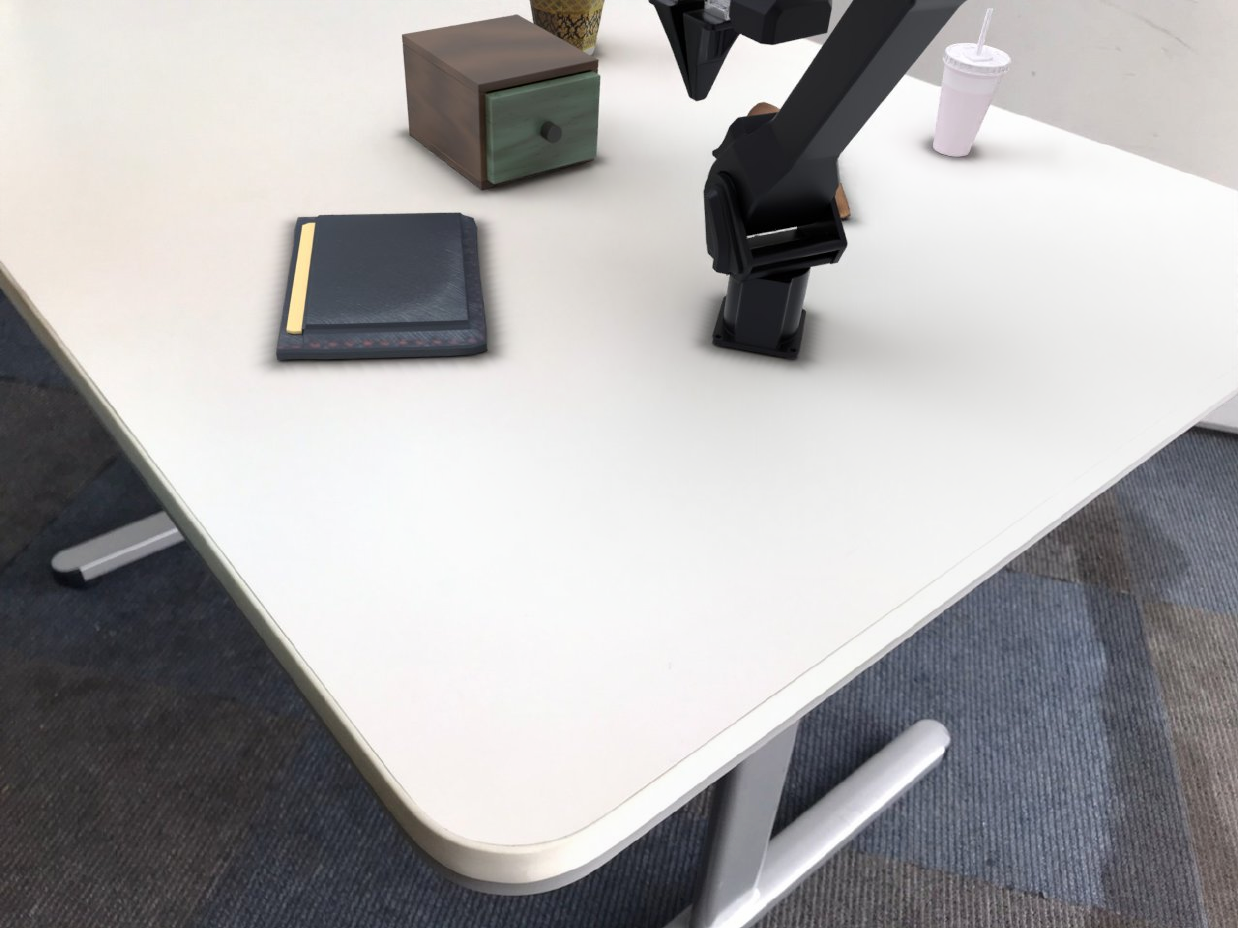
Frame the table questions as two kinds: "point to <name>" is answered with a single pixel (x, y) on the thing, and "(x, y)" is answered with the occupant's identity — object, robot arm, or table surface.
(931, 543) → the table surface
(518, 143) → the drawer
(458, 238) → the wallet
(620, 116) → the table surface
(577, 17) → the ceramic cup
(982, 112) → the smoothie
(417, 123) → the cabinet
